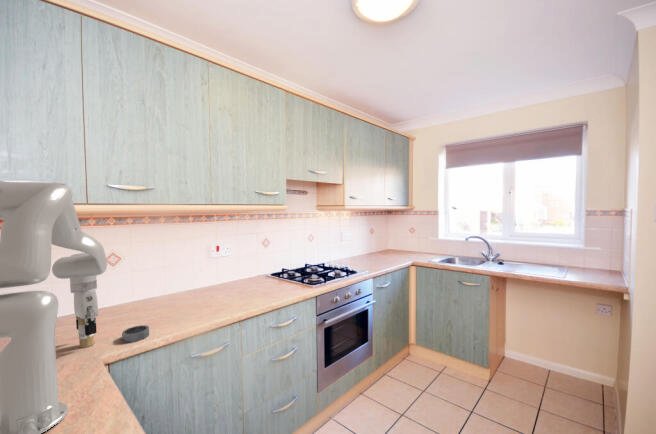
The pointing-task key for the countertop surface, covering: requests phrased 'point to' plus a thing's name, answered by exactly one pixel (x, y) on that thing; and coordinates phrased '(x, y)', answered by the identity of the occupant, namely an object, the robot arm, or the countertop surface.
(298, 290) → the countertop surface
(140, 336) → the socket collar
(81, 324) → the sprinkles bottle
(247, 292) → the countertop surface
